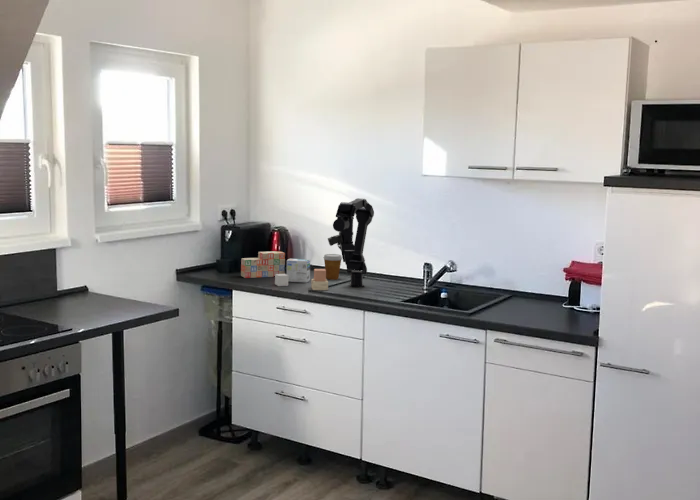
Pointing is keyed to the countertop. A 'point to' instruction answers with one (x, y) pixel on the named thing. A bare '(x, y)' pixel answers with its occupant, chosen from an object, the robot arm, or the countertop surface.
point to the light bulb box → (298, 270)
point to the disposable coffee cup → (332, 265)
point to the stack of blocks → (263, 265)
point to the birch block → (319, 285)
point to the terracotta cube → (319, 274)
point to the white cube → (281, 279)
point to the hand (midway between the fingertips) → (345, 263)
